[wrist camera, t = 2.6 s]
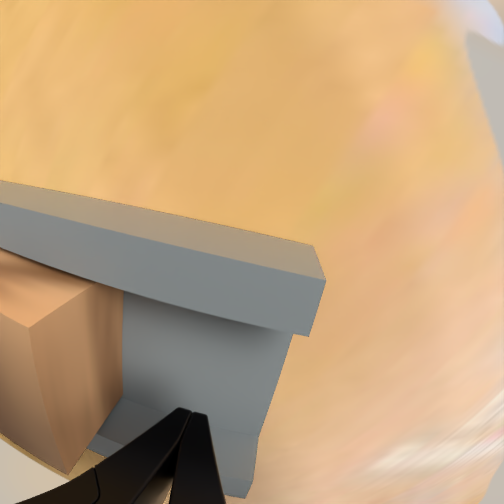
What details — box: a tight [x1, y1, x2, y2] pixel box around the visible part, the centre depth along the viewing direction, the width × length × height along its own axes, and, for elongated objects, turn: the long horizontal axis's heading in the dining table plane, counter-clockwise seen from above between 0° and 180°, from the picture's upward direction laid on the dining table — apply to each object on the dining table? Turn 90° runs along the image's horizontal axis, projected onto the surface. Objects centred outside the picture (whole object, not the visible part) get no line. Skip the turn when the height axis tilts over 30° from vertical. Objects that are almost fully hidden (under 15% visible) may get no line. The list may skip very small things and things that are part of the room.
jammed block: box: [0, 247, 124, 475], centre depth 9 cm, size 6×6×5 cm
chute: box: [0, 180, 326, 499], centre depth 10 cm, size 15×10×4 cm, turn 78°
